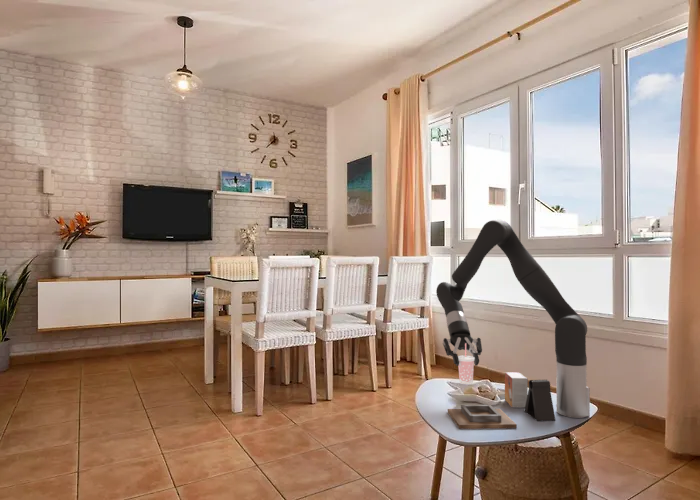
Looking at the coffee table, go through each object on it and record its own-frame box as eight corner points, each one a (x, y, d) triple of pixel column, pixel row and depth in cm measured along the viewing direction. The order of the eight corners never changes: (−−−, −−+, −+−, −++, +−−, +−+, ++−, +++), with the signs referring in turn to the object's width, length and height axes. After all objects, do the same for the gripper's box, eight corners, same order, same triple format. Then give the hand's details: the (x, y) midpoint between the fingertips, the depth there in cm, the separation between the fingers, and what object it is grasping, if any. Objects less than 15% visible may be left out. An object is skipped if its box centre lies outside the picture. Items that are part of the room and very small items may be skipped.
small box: (504, 400, 162) (504, 371, 162) (519, 400, 162) (519, 372, 162) (511, 407, 154) (511, 377, 154) (527, 408, 154) (527, 378, 154)
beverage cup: (459, 379, 160) (458, 341, 160) (476, 381, 157) (475, 342, 157) (455, 383, 154) (455, 344, 154) (473, 385, 152) (472, 345, 152)
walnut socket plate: (499, 412, 150) (499, 402, 150) (516, 428, 136) (516, 417, 136) (447, 412, 149) (447, 403, 149) (459, 428, 135) (459, 418, 135)
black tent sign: (555, 421, 142) (555, 384, 142) (537, 421, 141) (537, 384, 142) (541, 411, 151) (541, 376, 151) (524, 411, 150) (524, 376, 151)
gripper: (440, 319, 163) (449, 359, 151) (478, 319, 164) (490, 358, 152) (437, 331, 168) (445, 370, 156) (474, 331, 169) (485, 369, 157)
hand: (467, 364), depth 154 cm, fingers closed on beverage cup, 6 cm apart
